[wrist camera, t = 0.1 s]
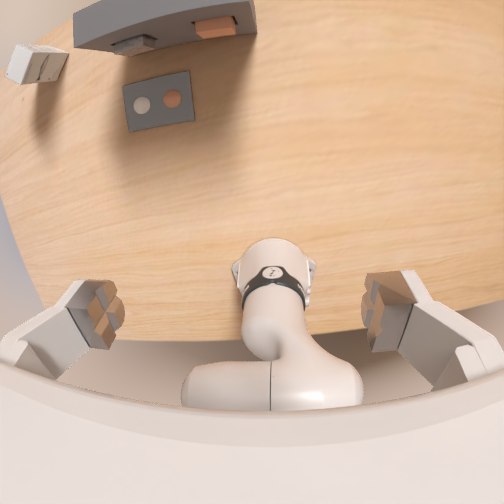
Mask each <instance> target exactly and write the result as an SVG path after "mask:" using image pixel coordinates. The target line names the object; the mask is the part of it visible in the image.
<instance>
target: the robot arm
mask: <svg viewBox="0 0 504 504" xmlns="http://www.w3.org/2000/svg"><path fill="white" fill-rule="evenodd" d="M309 269H311V270H310V271H309ZM315 269H316V263H315V261H313V260H312V259H310V258H308V257H306V256H305V255H304V254H303V252H302V251H301V250H300V249H299V248H298V247H297V246H296V245H295V244H293V243H291V242H289V241H287V240H283V239H278V238H270V239H265V240H261V241H259V242H257V243H255V244H253V245H252V246H251V247H250V248H249V249H248V250H247V251H246V252H245V254H244V256H243V257H242V258H241V259H240V260H238V261H237V262H235V263H234V264H233V265H232V271H233V274H234V277H235V279H236V282H237V288H238V289H239V290H240V293H241V295H242V309H243V318H242V325H241V337H242V341H243V343H244V345H245V346H246V347H247V348H248V350H249V351H250V352H251V353H252V354H253V355H254V356H256V357H257V358H259V359H261V360H263V361H249V362H248V361H224V362H217V363H210V364H205V365H200V366H196V367H195V368H193V369H192V370H191V371H190V373H189V374H188V375H187V377H186V378H185V380H184V383H183V386H182V389H181V403H182V406H173V405H165V404H158V403H151V402H145V401H139V400H134V399H128V398H123V397H118V396H113V395H109V394H104V393H99V392H96V391H92V390H87V389H83V388H80V387H76V386H72V385H69V384H65V383H62V382H58V381H57V380H56V379H57V378H58V377H59V376H60V375H62V374H63V373H64V372H65V371H66V370H67V369H68V368H69V367H70V366H71V365H72V364H74V363H75V362H76V361H77V360H78V359H79V358H80V357H81V356H83V354H85V353H86V352H87V351H88V350H89V349H90V348H97V349H106V350H109V348H110V347H111V345H112V343H113V341H114V339H115V337H116V333H115V331H116V330H117V329H118V328H120V327H121V326H122V324H123V322H124V316H125V310H124V305H123V303H122V301H121V300H120V299H119V298H118V297H117V296H116V293H117V289H116V286H115V284H114V282H112V281H110V280H90V279H89V280H87V279H78V280H75V281H74V282H73V283H72V284H71V286H70V287H69V288H68V289H67V291H66V292H65V293H64V294H63V296H62V297H61V298H60V299H59V301H58V302H57V303H56V304H55V306H54V307H52V306H51V307H49V308H48V309H46V310H44V311H43V312H41V313H39V314H38V315H36V316H34V317H33V318H32V319H30V320H28V321H26V322H25V323H23V324H22V325H20V326H19V327H17V328H15V329H14V330H12V331H11V332H9V333H7V334H6V335H5V336H4V338H3V339H2V340H1V342H0V504H504V352H503V350H502V349H501V347H500V345H499V343H498V341H497V340H496V338H495V337H494V336H493V335H491V334H490V333H488V332H487V331H485V330H484V329H482V328H480V327H479V326H477V325H476V324H474V323H473V322H471V321H469V320H468V319H466V318H464V317H463V316H461V315H460V314H458V313H457V312H455V311H453V310H452V309H450V308H448V307H447V306H445V305H443V304H442V303H440V302H438V301H433V299H432V298H431V296H430V294H429V293H428V291H427V290H426V288H425V286H424V285H423V283H422V281H421V280H420V278H419V277H418V275H417V274H416V272H415V271H414V270H412V269H408V270H398V271H391V272H378V273H367V276H366V279H365V287H366V290H367V292H366V293H365V294H364V295H363V296H362V303H361V315H362V320H363V324H364V326H365V327H367V328H368V329H369V331H368V334H367V338H368V341H369V344H370V348H371V351H372V352H381V351H391V350H398V352H399V353H400V354H401V355H402V356H403V357H404V358H405V359H406V360H407V361H408V362H409V363H410V364H411V365H412V366H413V367H414V368H415V369H416V370H417V371H418V372H420V373H421V375H422V376H424V377H425V378H426V379H427V380H428V381H429V382H430V383H431V384H432V385H433V386H434V387H433V388H432V390H431V392H428V393H424V394H419V395H415V396H410V397H406V398H400V399H395V400H389V401H383V402H377V403H371V404H363V405H362V403H363V399H364V387H363V382H362V380H361V377H360V375H359V373H358V372H357V371H356V369H355V368H354V367H353V366H352V365H351V364H350V363H348V362H346V361H343V360H341V359H338V358H336V357H334V356H333V355H331V354H329V353H328V352H326V351H325V350H324V349H323V348H321V347H320V346H319V345H318V344H317V343H316V342H315V341H314V339H313V338H312V337H311V335H310V334H309V332H308V329H307V325H306V320H305V315H304V311H305V306H306V307H308V306H309V302H310V298H309V297H308V295H310V292H311V289H310V287H311V283H312V280H313V276H314V272H315Z"/></svg>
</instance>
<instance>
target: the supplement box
mask: <svg viewBox="0 0 504 504" xmlns="http://www.w3.org/2000/svg"><path fill="white" fill-rule="evenodd" d="M68 55H69V53H68V52H65V51H63V50H60V49H58V48H55V47H52V46H44V45H16V46H15V49H14V51H13V54H12V57H11V59H10V62H9V65H8V67H7V70H6V73H5V76H4V77H6V78H8V79H10V80H12V81H14V82H16V83H18V84H20V85H23V84H31V83H40V82H50V81H57V79H58V77H59V74H60V72H61V69H62V67H63V65H64V63H65V60H66V58H67V56H68Z"/></svg>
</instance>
